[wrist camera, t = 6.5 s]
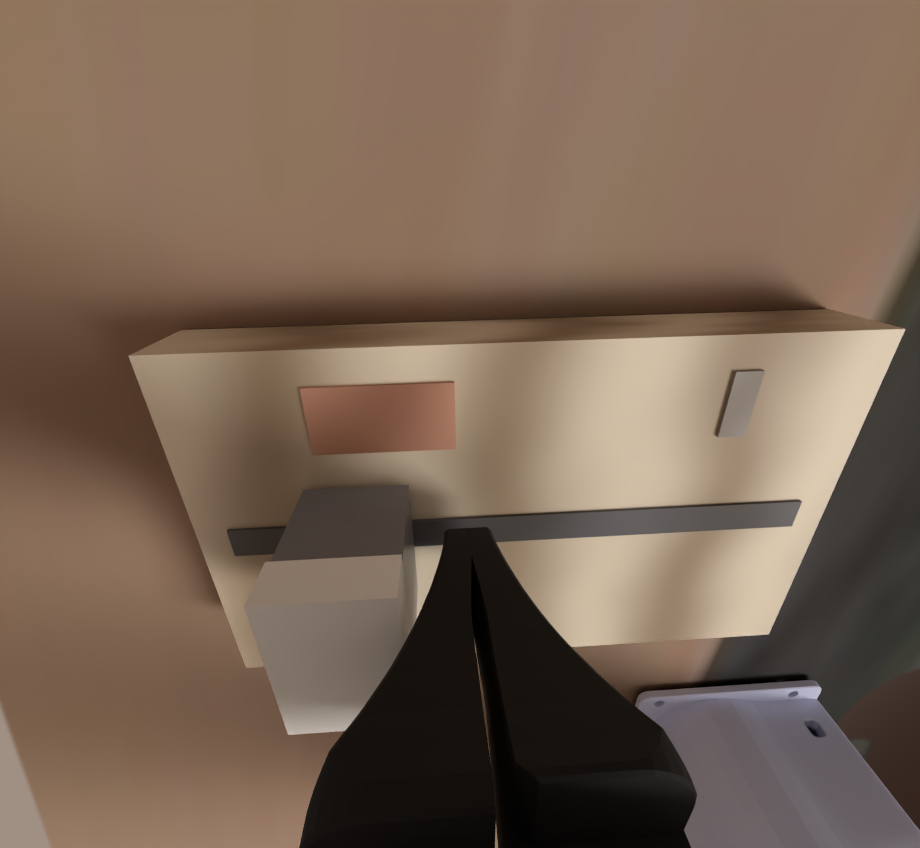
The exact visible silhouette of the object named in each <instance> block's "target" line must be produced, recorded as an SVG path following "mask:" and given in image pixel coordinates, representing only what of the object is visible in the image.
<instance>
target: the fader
mask: <svg viewBox="0 0 920 848" xmlns="http://www.w3.org/2000/svg"><path fill="white" fill-rule="evenodd" d="M417 591H418V583H417V572H416V560H415V549H414V537H413V526H412V514H411V503H410V491H409V485H396V486H375V487H354V488H333V489H313V490H303V492H302V494H301V496H300V498H299V500H298V502H297V505H296V507H295V509H294V511H293V513H292V515H291V518H290V520H289V522H288V524H287V526H286V529H285V531H284V533H283V535H282V537H281V539H280V542H279V544H278V546H277V548H276V550H275V552H274V555H273V557H272V559H271V561H270V562H265V563H264V565H263V567H262V569H261V572H260V574H259V576H258V578H257V580H256V582H255V584H254V586H253V588H252V590H251V593H250V595H249V597H248V599H247V601H246V603H245V605H244V609H245V612H246V615H247V617H248V620H249V623H250V626H251V629H252V632H253V635H254V638H255V641H256V643H257V646H258V649H259V652H260V655H261V658H262V661H263V664H264V667H265V669H266V672H267V675H268V678H269V681H270V684H271V687H272V690H273V692H274V695H275V698H276V701H277V704H278V707H279V710H280V713H281V716H282V718H283V721H284V724H285V727H286V730H287V733H288V735H295V734H309V733H323V732H337V731H345V730H346V729H347V728H348V727H349V725H350V724H351V723H352V722H353V720H354V719H355V718H356V717H357V715H358V714H359V713H360V711H361V710H362V708H363V707H364V706H365V704H366V703H367V701H368V700H369V698H370V697H371V695H372V694H373V693H374V691H375V690H376V688H377V687H378V685H379V684H380V682H381V681H382V679H383V678H384V676H385V675H386V673H387V672H388V670H389V669H390V667H391V665H392V664H393V662H394V660H395V658H396V657H397V655H398V653H399V652H400V650H401V648H402V646H403V645H404V643H405V641H406V639H407V637H408V635H409V633H410V632H411V630H412V628H413V626H414V624H415V622H416V616H417Z"/></svg>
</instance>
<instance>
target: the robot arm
mask: <svg viewBox="0 0 920 848" xmlns="http://www.w3.org/2000/svg"><path fill="white" fill-rule="evenodd" d="M474 641H475V642H474ZM475 646H476V650H475ZM476 652H477V658H478V663H479V669H480V675H481V680H482V686H483V691H484V699H485V706H486V715H487V725H488V736H489V747H490V756H489V749H488V742H487V735H486V728H485V721H484V713H483V706H482V698H481V691H480V683H479V675H478V667H477V659H476ZM820 693H821V687H820V686H819V685H818V684H817V682H816V681H814V680H800V681H786V682H771V683H757V684H743V685H728V686H714V687H699V688H685V689H670V690H656V691H645V692H643V693H641V694H639V696H638V697H637V700H636V704H635V706H634V705H633V704H632V703H631V702H629V701H628V700H627V699H626V698H625V697H623V696H622V695H621V694H620V693H619V692H618V691H617V690H616V689H614V688H613V687H612V686H611V685H610V684H609V683H608V682H606V681H605V680H604V679H603V678H602V677H601V676H600V675H599V674H598V673H597V672H596V671H595V670H594V669H593V668H592V667H591V666H590V665H589V664H588V663H587V662H586V661H585V660H584V659H583V658H582V657H581V656H580V655H578V654H577V653H576V652H575V651H574V650H573V648H572V647H571V646H570V645H569V644H568V643H567V642H566V641H565V640H564V639H563V638H562V636H561V635H560V634H559V633H558V632H557V631H556V630H555V628H554V627H553V626H552V625H551V624H550V623H549V621H548V620H547V619H546V618H545V616H544V615H543V614H542V613H541V611H540V610H539V609H538V608H537V606H536V605H535V603H534V602H533V601H532V599H531V598H530V597H529V595H528V594H527V593H526V591H525V590H524V588H523V587H522V585H521V584H520V582H519V581H518V579H517V578H516V576H515V574H514V573H513V571H512V570H511V568H510V567H509V565H508V563H507V561H506V560H505V558H504V556H503V554H502V553H501V551H500V549H499V547H498V545H497V543H496V541H495V539H494V536H493V534H492V531H491V530H490V529H489V528H488V527H476V528H457V529H448V530H446V531H445V532H444V542H443V548H442V552H441V556H440V560H439V563H438V567H437V569H436V572H435V575H434V578H433V581H432V584H431V587H430V590H429V592H428V594H427V597H426V599H425V601H424V604H423V606H422V609H421V611H420V613H419V615H418V617H417V619H416V622H415V624H414V626H413V628H412V630H411V632H410V633H409V635H408V637H407V639H406V641H405V643H404V645H403V646H402V648H401V650H400V652H399V653H398V655H397V657H396V658H395V660H394V662H393V664H392V665H391V667H390V669H389V670H388V672H387V673H386V675H385V676H384V678H383V679H382V681H381V682H380V684H379V685H378V687H377V688H376V690H375V691H374V693H373V694H372V695H371V697H370V698H369V700H368V701H367V703H366V704H365V706H364V707H363V708H362V710H361V711H360V713H359V714H358V715H357V717H356V718H355V719H354V720H353V722H352V723H351V724H350V725H349V727H348V728H347V729H346V730H345V732H344V733H343V734H342V736H341V737H340V738H339V739H338V741H337V742H336V743H335V744H334V746H333V747H332V748H331V750H330V751H329V753H328V756H327V758H326V760H325V763H324V765H323V767H322V770H321V772H320V775H319V777H318V780H317V783H316V785H315V788H314V791H313V794H312V797H311V800H310V804H309V807H308V810H307V814H306V819H305V823H304V828H303V833H302V838H301V843H300V847H299V848H495V824H496V826H497V838H498V848H920V831H919V829H918V828H917V827H916V826H915V824H914V823H913V821H912V820H911V819H910V818H909V816H908V815H907V814H906V813H905V811H904V810H903V809H902V807H901V806H900V805H899V804H898V802H897V801H896V800H895V799H894V797H893V796H892V795H891V793H890V792H889V791H888V790H887V788H886V787H885V786H884V784H883V783H882V782H881V781H880V779H879V778H878V777H877V775H876V774H875V773H874V772H873V770H872V769H871V768H870V766H869V765H868V764H867V763H866V761H865V760H864V759H863V758H862V756H861V755H860V754H859V752H858V751H857V750H856V749H855V747H854V746H853V745H852V743H851V742H850V741H849V740H848V738H847V737H846V736H845V735H844V733H843V732H842V731H841V729H840V728H839V727H838V726H837V724H836V723H835V722H834V720H833V719H832V718H831V717H830V715H829V714H828V713H827V711H826V710H825V709H824V708H823V706H822V705H821V704H820V703H819V701H818V700H817V698H818V696H819V694H820ZM490 758H491V763H490Z"/></svg>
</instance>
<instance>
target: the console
mask: <svg viewBox="0 0 920 848" xmlns="http://www.w3.org/2000/svg"><path fill="white" fill-rule="evenodd" d="M904 331H905V329H904V328H900V327H896V326H892V325H888V324H885V323H881V322H877V321H873V320H869V319H865V318H861V317H857V316H853V315H849V314H845V313H841V312H838V311H834V310H830V309H817V310H786V311H755V312H724V313H693V314H662V315H631V316H600V317H569V318H538V319H507V320H476V321H445V322H414V323H383V324H352V325H321V326H290V327H259V328H228V329H197V330H180V331H178V332H176V333H174V334H172V335H170V336H168V337H166V338H164V339H162V340H160V341H158V342H155V343H153V344H151V345H149V346H147V347H145V348H143V349H141V350H139V351H137V352H135V353H133V354H131V355H129V359H130V362H131V364H132V367H133V370H134V372H135V375H136V378H137V380H138V383H139V385H140V388H141V391H142V393H143V396H144V399H145V401H146V404H147V407H148V409H149V412H150V415H151V417H152V420H153V423H154V425H155V428H156V431H157V433H158V436H159V438H160V441H161V444H162V446H163V449H164V452H165V454H166V457H167V460H168V462H169V465H170V468H171V470H172V473H173V476H174V478H175V481H176V483H177V486H178V489H179V491H180V494H181V497H182V499H183V502H184V505H185V507H186V510H187V513H188V515H189V518H190V521H191V523H192V526H193V529H194V531H195V534H196V536H197V539H198V542H199V544H200V547H201V550H202V552H203V555H204V558H205V560H206V563H207V566H208V568H209V571H210V574H211V576H212V579H213V582H214V584H215V587H216V589H217V592H218V595H219V597H220V600H221V603H222V605H223V608H224V611H225V613H226V616H227V619H228V621H229V624H230V627H231V629H232V632H233V635H234V637H235V640H236V642H237V645H238V648H239V650H240V653H241V656H242V658H243V661H244V664H245V666H246V668H254V667H264V664H263V661H262V658H261V655H260V652H259V649H258V646H257V643H256V641H255V638H254V635H253V632H252V629H251V626H250V623H249V620H248V617H247V615H246V612H245V609H244V605H245V603H246V601H247V599H248V597H249V595H250V593H251V590H252V588H253V586H254V584H255V582H256V580H257V578H258V576H259V574H260V572H261V569H262V567H263V565H264V563H265V562H270V561H271V559H272V557H273V555H274V552H275V550H276V548H277V546H278V544H279V542H280V539H281V537H282V535H283V533H284V531H285V529H286V526H287V524H288V522H289V520H290V518H291V515H292V513H293V511H294V509H295V507H296V505H297V502H298V500H299V498H300V496H301V494H302V492H303V490H313V489H333V488H354V487H375V486H396V485H409V491H410V503H411V514H412V526H413V537H414V549H415V560H416V572H417V583H418V591H417V616H416V619H417V617H418V615H419V613H420V611H421V609H422V606H423V604H424V601H425V599H426V597H427V594H428V592H429V590H430V587H431V584H432V581H433V578H434V575H435V572H436V569H437V567H438V563H439V560H440V556H441V552H442V548H443V542H444V532H445V531H446V530H448V529H457V528H476V527H488V528H489V529H490V530H491V531H492V534H493V536H494V539H495V541H496V543H497V545H498V547H499V549H500V551H501V553H502V554H503V556H504V558H505V560H506V561H507V563H508V565H509V567H510V568H511V570H512V571H513V573H514V574H515V576H516V578H517V579H518V581H519V582H520V584H521V585H522V587H523V588H524V590H525V591H526V593H527V594H528V595H529V597H530V598H531V599H532V601H533V602H534V603H535V605H536V606H537V608H538V609H539V610H540V611H541V613H542V614H543V615H544V616H545V618H546V619H547V620H548V621H549V623H550V624H551V625H552V626H553V627H554V628H555V630H556V631H557V632H558V633H559V634H560V635H561V636H562V638H563V639H564V640H565V641H566V642H567V643H568V644H569V645H570V646H571V647H580V646H596V645H611V644H627V643H642V642H658V641H673V640H689V639H704V638H720V637H735V636H751V635H766V634H769V633H770V630H771V628H772V626H773V624H774V622H775V619H776V617H777V615H778V613H779V610H780V608H781V606H782V604H783V601H784V599H785V597H786V595H787V593H788V590H789V588H790V586H791V584H792V581H793V579H794V577H795V575H796V572H797V570H798V568H799V566H800V563H801V561H802V559H803V557H804V555H805V552H806V550H807V548H808V546H809V543H810V541H811V539H812V537H813V534H814V532H815V530H816V528H817V526H818V523H819V521H820V519H821V517H822V514H823V512H824V510H825V508H826V505H827V503H828V501H829V499H830V496H831V494H832V492H833V490H834V488H835V485H836V483H837V481H838V479H839V476H840V474H841V472H842V470H843V467H844V465H845V463H846V461H847V458H848V456H849V454H850V452H851V450H852V447H853V445H854V443H855V441H856V438H857V436H858V434H859V432H860V429H861V427H862V425H863V423H864V421H865V418H866V416H867V414H868V412H869V409H870V407H871V405H872V403H873V400H874V398H875V396H876V394H877V391H878V389H879V387H880V385H881V383H882V380H883V378H884V376H885V374H886V371H887V369H888V367H889V365H890V362H891V360H892V358H893V356H894V354H895V351H896V349H897V347H898V345H899V342H900V340H901V338H902V336H903V333H904ZM474 642H475V641H474ZM475 650H476V646H475ZM476 653H477V652H476Z"/></svg>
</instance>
